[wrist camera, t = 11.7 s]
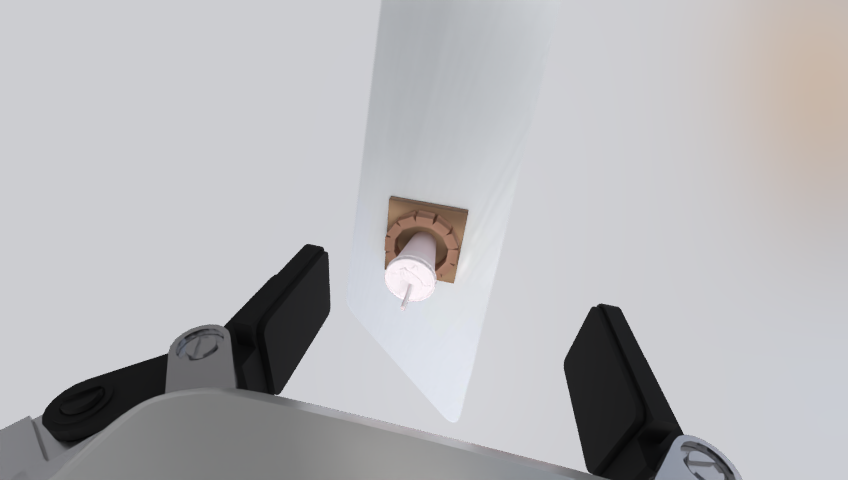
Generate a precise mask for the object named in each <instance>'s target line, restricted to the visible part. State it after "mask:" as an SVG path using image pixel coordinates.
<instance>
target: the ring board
mask: <svg viewBox="0 0 848 480" xmlns="http://www.w3.org/2000/svg"><path fill="white" fill-rule="evenodd" d="M467 215H468V210H465V209H460V208H454V207H448V206H443V205H437V204H432V203H426V202H421V201H415V200H409V199H404V198H398V197H393V196H391V198H390V199H389V211H388V227H387V235H386V237H385V251H386V253H385V254H386V257H385V270H386V269H387V266H388V264H389V263H390V262H391V261H392V260H393V259H394V258H396V257H397V256H398V255H399V254H400V253H401V251H402V250H403V249H404V247H405V246H406V245H407V243H408V242H409V241H410V239H411V238H412V237H413V236H414V234H416V233H418V232H428V233H430V234H431V235H433V237H434V238H435V240H436V257H435V274H436V280H439V281H444V282H449V283H454V279H455V274H456V269H457V264H458V259H459V254H460V249H461V244H462V240H463V235H464V230H465V225H466V220H467Z"/></svg>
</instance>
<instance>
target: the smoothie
mask: <svg viewBox="0 0 848 480" xmlns="http://www.w3.org/2000/svg"><path fill="white" fill-rule="evenodd" d="M435 257H436V240H435V238H434V237H433V235H431V234H430V233H428V232H418V233H416V234H414V236H413V237H412V238H411V239H410V241H409V242H408V243H407V245H406V246H405V247H404V249H403V250H402V251H401V253H400V254H399V255H398V256H397V257H396V258H394V259H393V260H392V261H391V262H390V263H389V264H388V266H387V269H386V271H385V283H386V286H387V287H388V289H389V290H390V291H391V293H393V294H394V295H395V296H397V297H398V298H400V299H402V300H403V303H402V305H401V310H403V311H404V310H405V309H406V306H407V303H408V301H411V302H416V301H421V300H424V299H426V298H428V297H429V296H430V295H431V294H432V293H433V291H434V288H435V285H436V282H437V280H436V274H435Z"/></svg>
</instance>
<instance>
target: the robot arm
mask: <svg viewBox="0 0 848 480" xmlns="http://www.w3.org/2000/svg"><path fill="white" fill-rule="evenodd" d="M329 285H330V284H329V259H328V253H327V252H325V251H324V248H323V247H320V246H316V245H311V244H306V245H305V246H304V247H303V248H302V249H301V250H300V251H299V252H298V253H297V254H296V255H295V256H294V257H293V258H292V259H291V260H290V262H289V263H287V264H286V266H285V267H284V268H283V269H282V270H281V271H280V272H279V273H278V274H277V275H274V276H273V277H271V278H270V280H268V281H267V283H265V285H264V286H263V287H262V288H261V289H260V290H259V291H258V292H257V293H256V294H255V295H254V296H253V297H252V298H251V299H250V300H249V301H248V302H247V303H246V304H245V305H244V306H243V307H242V309H240V310H239V311H238V312H237V313H236V314H235V315H234V317H233V318H231V320H230V321H229V322H228V323H227V324H226V325H225V326H224V327H222V326H219V325H204V326H199V327H196V328H193V329H190V330H188V331H187V332H185V333H183V334H182V335H180V336H179V337H178V338H177V339H175V341H174V342H173V344H172V345H171V346H170V349H169V352H168V354H165V355H162V356H159V357H156V358H153V359H149V360H146V361H143V362H140V363H137V364H134V365H131V366H128V367H125V368H122V369H119V370H116V371H112V372H110V373H106V374H103V375H100V376H97V377H94V378H91V379H88V380H85V381H83V382H80V383H78V384H75V385H74V386H72V387H70V388H69V389H67V390H65V391H64V392H62V393H61V394H60V395H59V396H57V397H56V398H55V399H54V400H53V401H52V402H51V403H50V404H49V405H48V407H47V408H46V409H45V412H44V414H43V415H41V416H39V417H37V418H35V419H32V418H31V417H30V416H28V417H26V418H24V419H22V420H20V421H18V422H16V423H14V424H12V425H10V426H8V427H6V428H4V429H2V430H0V480H742V478H741V476H740V474H739V472H738V471H737V469H736V468H735V466H734V465H733V464H732V463H731V462H730V460H729V459H728V458H727V457H726V456H725V455H724V454H723V453H721V452H720V451H719V450H718V449H717V448H715V447H714V446H712V445H711V444H709V443H707V442H706V441H704V440H702V439H700V438H697V437H694V436H689V435H684V434H683V432H682V430H681V428H680V426H679V424H678V422H677V420H676V418H675V416H674V414H673V412H672V410H671V408H670V406H669V404H668V402H667V400H666V398H665V396H664V394H663V392H662V391H661V388H660V386H659V384H658V382H657V380H656V378H655V376H654V374H653V372H652V370H651V368H650V366H649V364H648V362H647V360H646V358H645V357H644V355H643V353H642V351H641V349H640V347H639V345H638V343H637V341H636V339H635V337H634V335H633V333H632V331H631V329H630V327H629V325H628V323H627V321H626V319H625V317H624V315H623V313H622V311H621V309H620V308H619V307H615V306H611V305H606V304H599V305H597V307H592V308H591V309H590V311H589V313H588V315H587V317H586V319H585V321H584V323H583V325H582V327H581V329H580V331H579V333H578V335H577V336H576V339H575V341H574V342H573V345H572V346H571V348H570V350H569V352H568V354H567V356H566V358H565V360H564V371H565V375H566V380H567V385H568V389H569V393H570V398H571V402H572V407H573V411H574V415H575V419H576V424H577V428H578V432H579V437H580V441H581V446H582V451H583V455H584V459H585V464H586V467H587V470H588V472H589V473H591V474H593V475H591V474H588V473H584V472H580V471H577V470H573V469H569V468H566V467H562V466H558V465H554V464H550V463H546V462H543V461H539V460H535V459H531V458H527V457H523V456H519V455H515V454H511V453H507V452H503V451H500V450H496V449H492V448H488V447H484V446H480V445H476V444H472V443H468V442H464V441H460V440H456V439H452V438H448V437H443V436H440V435H436V434H432V433H428V432H424V431H420V430H416V429H412V428H408V427H404V426H400V425H396V424H392V423H388V422H384V421H380V420H376V419H372V418H368V417H364V416H359V415H355V414H351V413H347V412H343V411H339V410H335V409H331V408H327V407H322V406H319V405H314V404H310V403H306V402H301V401H297V400H292V399H288V398H284V397H279V396H275V395H274V394H276V395H278V394H280V393H281V391H282V390H283V388H284V386H285V385H286V383H287V382H288V380H289V379H290V377H291V375H292V374H293V372H294V370H295V369H296V367H297V365H298V364H299V362H300V361H301V359H302V357H303V356H304V354H305V352H306V351H307V349H308V347H309V346H310V344H311V343H312V341H313V340H314V338H315V336H316V335H317V333H318V331H319V330H320V328H321V327H322V325H323V323H324V322H325V320H326V318H327V317H328V315H329V312H330V286H329Z"/></svg>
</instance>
